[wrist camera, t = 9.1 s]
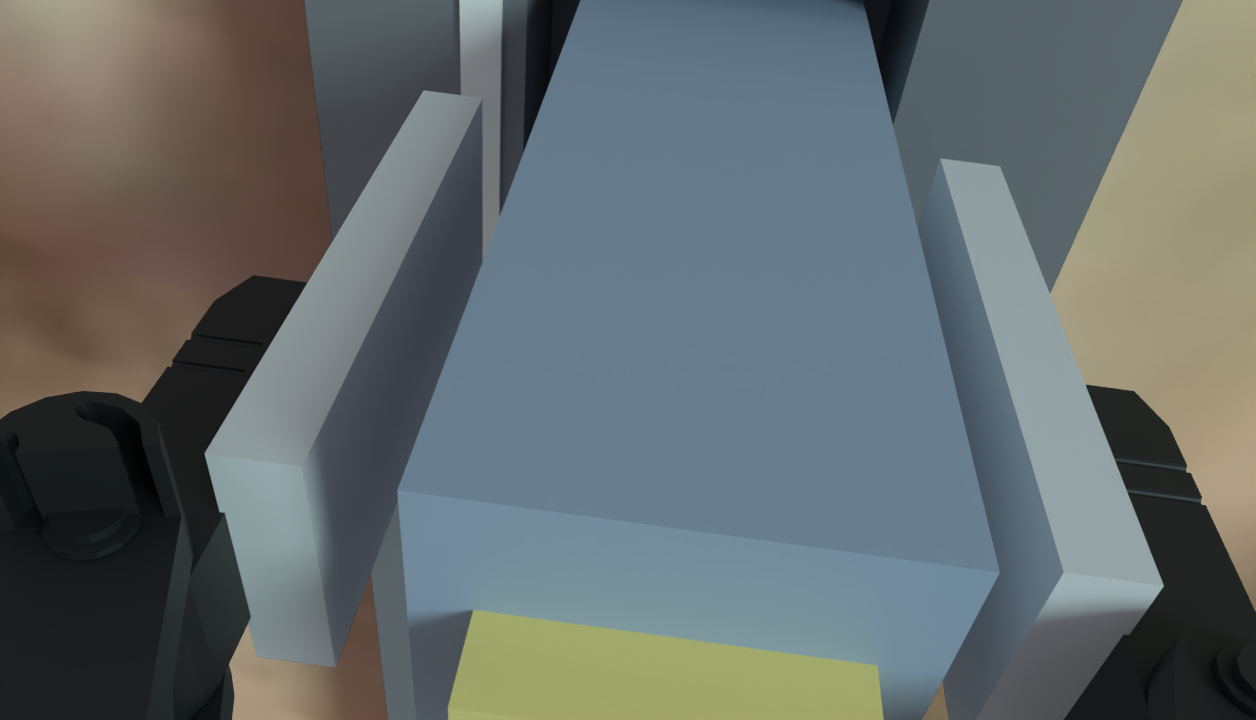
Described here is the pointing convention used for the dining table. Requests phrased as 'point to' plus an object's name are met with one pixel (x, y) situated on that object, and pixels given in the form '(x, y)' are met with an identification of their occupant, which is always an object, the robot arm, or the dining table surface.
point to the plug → (698, 398)
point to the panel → (913, 83)
